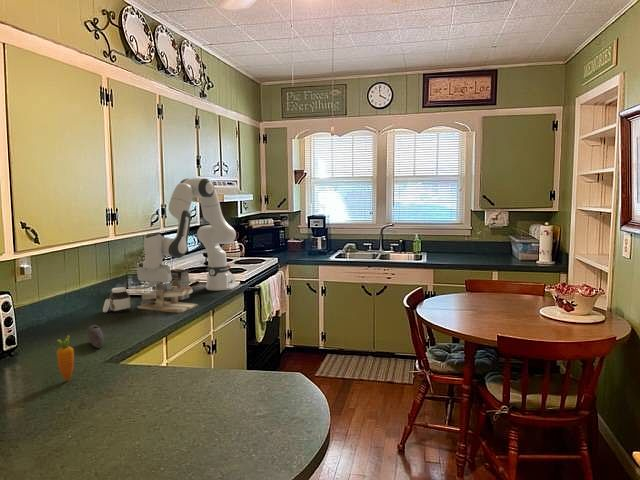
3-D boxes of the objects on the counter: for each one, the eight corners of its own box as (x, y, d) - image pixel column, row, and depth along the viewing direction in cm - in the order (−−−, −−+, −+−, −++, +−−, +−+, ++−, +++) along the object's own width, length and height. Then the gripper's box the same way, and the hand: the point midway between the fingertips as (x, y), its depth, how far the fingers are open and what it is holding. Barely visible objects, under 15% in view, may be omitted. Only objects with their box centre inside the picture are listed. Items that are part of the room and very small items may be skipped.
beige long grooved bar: (153, 300, 260) (151, 288, 260) (193, 297, 250) (191, 284, 249) (143, 303, 253) (140, 291, 253) (183, 300, 242) (181, 288, 242)
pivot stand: (157, 301, 264) (156, 283, 263) (197, 305, 254) (196, 287, 252) (137, 308, 250) (136, 289, 249) (179, 313, 240) (178, 293, 239)
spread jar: (133, 310, 246) (131, 288, 245) (113, 315, 237) (111, 292, 236) (118, 307, 253) (117, 285, 251) (98, 312, 243) (97, 289, 242)
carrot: (58, 385, 154) (55, 340, 152) (59, 379, 158) (55, 335, 156) (76, 382, 156) (72, 337, 154) (75, 376, 160) (72, 333, 159)
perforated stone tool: (107, 349, 188) (106, 332, 187) (92, 352, 185) (91, 334, 184) (100, 339, 200) (99, 323, 199) (86, 341, 197) (85, 325, 196)
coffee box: (169, 298, 272) (168, 270, 270) (178, 296, 277) (176, 268, 275) (181, 300, 267) (180, 271, 265) (190, 297, 273) (188, 269, 271)
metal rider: (164, 291, 254) (162, 283, 254) (172, 291, 252) (171, 282, 252) (158, 293, 251) (157, 285, 250) (167, 292, 248) (166, 284, 248)
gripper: (173, 264, 251) (175, 290, 253) (143, 262, 259) (144, 287, 261) (165, 266, 245) (166, 292, 247) (134, 264, 253) (136, 289, 255)
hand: (155, 289), depth 254 cm, fingers closed
